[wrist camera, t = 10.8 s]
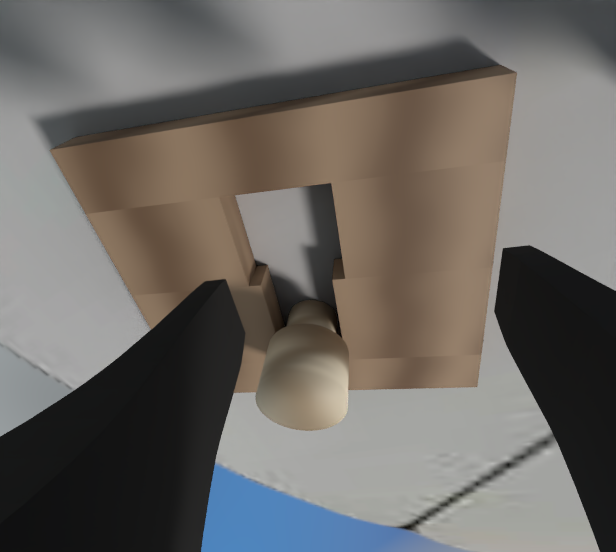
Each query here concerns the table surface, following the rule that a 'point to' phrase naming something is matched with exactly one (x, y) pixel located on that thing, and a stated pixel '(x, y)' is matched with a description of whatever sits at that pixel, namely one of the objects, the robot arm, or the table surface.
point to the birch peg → (306, 370)
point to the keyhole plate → (348, 206)
